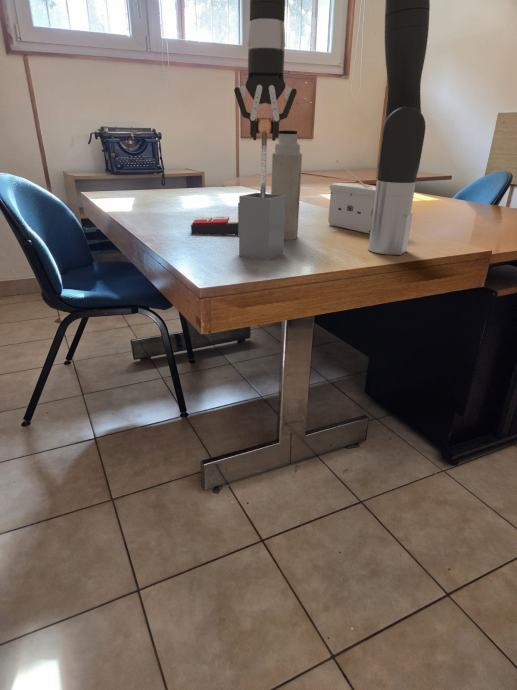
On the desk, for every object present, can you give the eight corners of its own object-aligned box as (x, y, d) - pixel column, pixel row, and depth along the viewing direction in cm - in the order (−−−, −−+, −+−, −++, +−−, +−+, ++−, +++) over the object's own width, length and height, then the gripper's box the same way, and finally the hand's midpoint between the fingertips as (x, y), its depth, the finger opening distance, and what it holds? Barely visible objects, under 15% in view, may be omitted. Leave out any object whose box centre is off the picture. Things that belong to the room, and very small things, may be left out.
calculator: (195, 216, 141) (243, 214, 140) (196, 230, 142) (243, 228, 142) (190, 222, 131) (242, 220, 130) (191, 237, 132) (242, 235, 132)
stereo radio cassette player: (391, 233, 139) (401, 163, 130) (374, 236, 134) (383, 164, 126) (341, 223, 154) (347, 159, 145) (324, 225, 149) (329, 160, 141)
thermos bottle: (298, 234, 134) (305, 130, 122) (295, 240, 127) (301, 130, 115) (272, 233, 135) (275, 129, 123) (267, 238, 128) (270, 129, 116)
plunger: (279, 211, 108) (283, 118, 100) (267, 214, 104) (270, 117, 95) (257, 209, 111) (259, 118, 102) (245, 212, 106) (245, 117, 98)
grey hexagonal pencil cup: (283, 253, 113) (285, 195, 107) (267, 260, 107) (269, 199, 101) (248, 248, 118) (248, 192, 112) (231, 254, 111) (231, 195, 105)
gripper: (299, 52, 97) (294, 140, 104) (232, 50, 97) (233, 139, 104) (302, 46, 90) (297, 141, 97) (231, 44, 90) (231, 139, 97)
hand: (264, 139), depth 101 cm, fingers closed on plunger, 3 cm apart
